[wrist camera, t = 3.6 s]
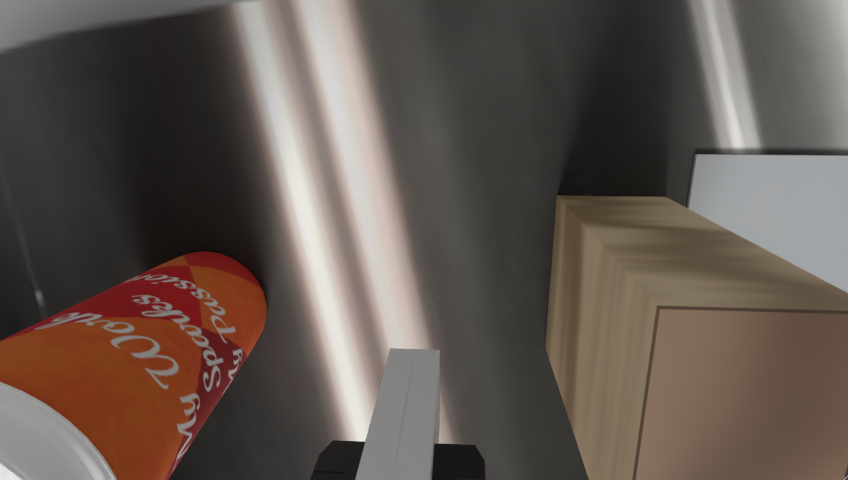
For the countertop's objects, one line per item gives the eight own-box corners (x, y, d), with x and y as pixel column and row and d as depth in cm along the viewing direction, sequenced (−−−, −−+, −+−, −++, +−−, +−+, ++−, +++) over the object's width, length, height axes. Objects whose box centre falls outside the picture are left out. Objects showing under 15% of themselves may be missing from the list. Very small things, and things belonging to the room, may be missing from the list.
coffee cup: (320, 326, 27) (162, 597, 13) (205, 397, 29) (-49, 708, 14) (218, 195, 25) (-99, 336, 11) (103, 279, 27) (-302, 497, 13)
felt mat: (659, 386, 27) (661, 388, 26) (694, 154, 23) (696, 154, 23) (945, 396, 26) (949, 399, 26) (1025, 156, 22) (1030, 157, 22)
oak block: (545, 347, 26) (621, 578, 14) (557, 195, 24) (659, 309, 12) (644, 350, 26) (812, 589, 14) (665, 196, 24) (889, 315, 11)
